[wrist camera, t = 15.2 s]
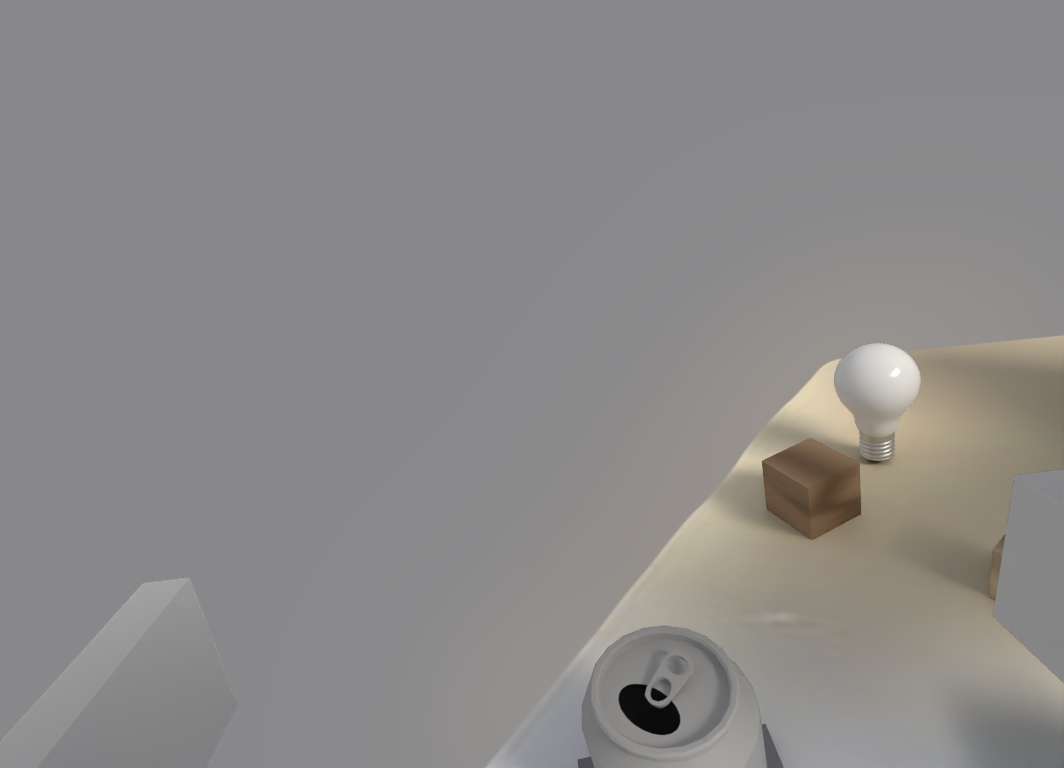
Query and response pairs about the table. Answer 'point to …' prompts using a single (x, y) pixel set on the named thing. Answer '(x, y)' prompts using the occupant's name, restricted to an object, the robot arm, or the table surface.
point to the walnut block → (812, 487)
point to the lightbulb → (877, 393)
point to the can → (671, 705)
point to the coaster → (771, 754)
